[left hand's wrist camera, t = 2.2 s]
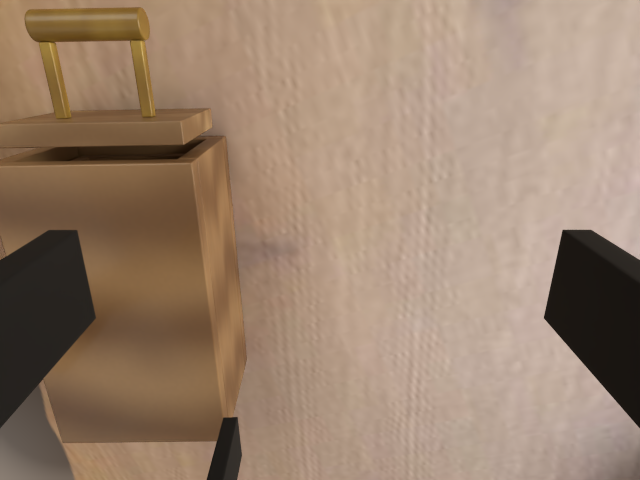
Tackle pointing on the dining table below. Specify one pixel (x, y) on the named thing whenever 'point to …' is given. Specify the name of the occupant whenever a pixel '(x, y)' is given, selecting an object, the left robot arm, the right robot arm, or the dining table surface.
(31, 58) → the dining table surface
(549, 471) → the dining table surface
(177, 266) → the cabinet
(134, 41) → the drawer
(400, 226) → the dining table surface
